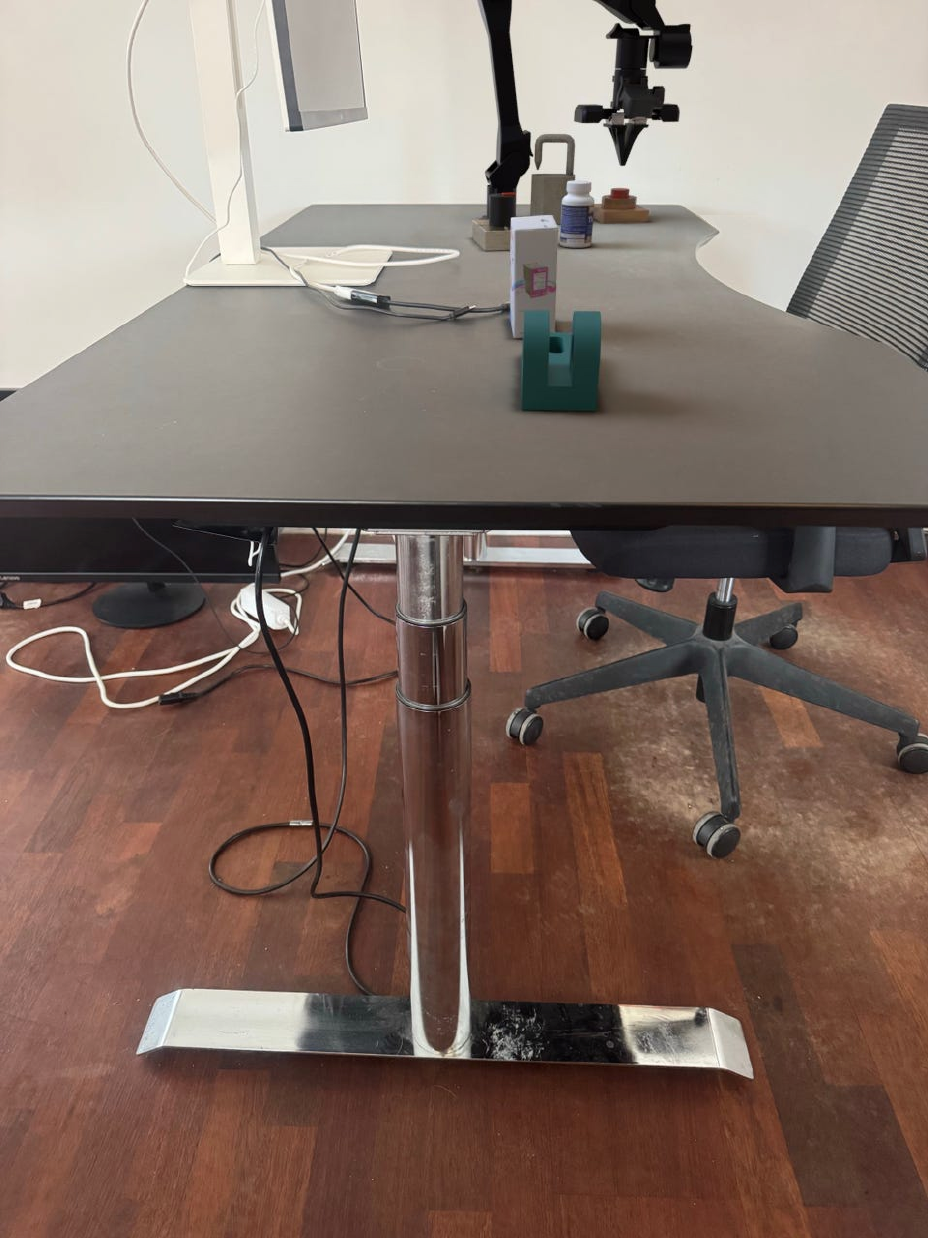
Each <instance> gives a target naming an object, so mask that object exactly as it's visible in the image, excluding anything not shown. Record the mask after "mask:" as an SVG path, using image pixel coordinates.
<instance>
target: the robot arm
mask: <svg viewBox="0 0 928 1238" xmlns="http://www.w3.org/2000/svg"><path fill="white" fill-rule="evenodd" d="M476 1H477V5H478V8H479V13H480V16H481V19H482V22H483V25H484V28H485V31H486V34H487V39H488V40H487V41H488V47H489V56H490V57H489V58H490V66H491V73H492V82H493V89H494V91H493V92H494V98H495V99H494V100H495V107H496V108H495V109H496V116H497V117H496V118H497V133H496V144H495V145H496V147H495V148H496V149H495V160H494V161H493V162H492V163H491V164H490V165H489V166H488V167H487V168H486V170H485V171H484V176H485V179H486V182H487V183H488V184H487V185H486V215H481V216H482V217H481V218H482V220H489V195H491V194H501V193H515V217H518V216H517V193H518V185H519V183H520V179H521V178H522V177H523V176H524V175H526V173H527V172H528V171H529V169H530V166H531V158H533V157H535V154H534V153H533V152H532V146H531V145H532V144H531V143H532V132H531V131H529V130H527V129H524V130H523V128H522V124H521V122H520V115H519V106H518V105H519V104H518V96H517V88H516V86H517V85H516V77H515V67H514V59H513V48H512V39H511V21H512V11H513V0H476ZM592 1H593V2H596V3H597V4H599V5H600V6H602V7H603V8H604V9H605V10H606V11H607V12H609V13H610V14H611V15H613V16H614V17H615V18H617V19H618V20H620V21H621V22H622V23H624V24H628V25H635V26H636V27H623V26H622V25H621V23H620V22H616V23H614V25H613V27H612V28H611V30H610V31H608V33H606V35H605V39H607V40H616V48H615V61H614V72H613V73H614V74H613V75H612V76H611V77H612V79H611V83H613V85H612V87H613V88H612V100H611V101H610V104H609V107H607V108H605V107H604V105H602V104H595V103H594V104H593V103H592V104H591V103H590V104H577V106H576V107H575V109H574V117H573V122H574V123H580V124H600V123H601V122H602V121H603V120H605V122H603V123H602V127H604V128H607V129H608V132H609V134H610V137H611V139H612V142H613V145H614V150H615V154H616V156H617V161H618V165H619V166H620V167H625V166H627V162H628V161H629V158H630V155H631V152H632V150H633V147H634V145H635V143H636V140H637V139H638V137H639V135H640V134H641V133H642V132H643V130H644V129H648V128H649V127H650V124H648V123H647V122H648V119H651V120H652V121H661V122H662V123H678V122H680V114H681V110H680V107H679V105H678V104H676V103H668V102H667V103H665V100H666V99H665V98H666V88H665V86H663V85H654V86H652V88H649V76H648V75H647V67H648V62H649V63H653V68H654V69H655V70H663V69H664V70H686V69H687V68H689V66H690V63H691V58H692V55H693V48H694V47H693V45H692V44H693V39H692V32H691V27H692V25H691V23H680V24H665V22H664V20H663V17H662V16H661V13H660V12H659V9H658V7H657V0H592ZM640 30H641V31H642V32H643V31H644V32H645V31H647V32H651V31H652V34H641V33H640ZM648 60H649V61H648ZM621 110H623V111H621ZM625 120H628V121H627V122H625Z"/></svg>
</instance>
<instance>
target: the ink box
mask: <svg viewBox="0 0 928 1238" xmlns="http://www.w3.org/2000/svg"><path fill="white" fill-rule="evenodd" d="M558 243H559V225H558V224H556V222H555V220H554V218H553V215H541V216H530V215H527V216H517V217H513V218H511V242H510V250H509V251H510V252H509V255H510V257H509V258H510V259H509V264H510V265H509V269H510V271H509V275H510V276H509V277H510V278H509V296H510V297H509V315H510V316H509V320H510V321H509V322H510V325H511V331H512V336H513V339H523V330H524V310H534V311H550V332H556V311H557V310H556V307H557V277H558V276H557V275H558V245H559V244H558Z"/></svg>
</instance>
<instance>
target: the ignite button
mask: <svg viewBox="0 0 928 1238" xmlns="http://www.w3.org/2000/svg"><path fill="white" fill-rule="evenodd" d="M630 191H631V190H630V188H627V187H613V188H612V187H611V188H610V194H609V195H610V198H629V195H630Z"/></svg>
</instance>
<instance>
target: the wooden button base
mask: <svg viewBox="0 0 928 1238" xmlns="http://www.w3.org/2000/svg"><path fill="white" fill-rule="evenodd" d="M637 198H638V196H635V195H631V194H629V198H610V194H605V195H603V196H601V203H594V215H593V220H595V221H597V222H599V223H601V224H606V225H607V224H633V223H634V224H636V223H649V217H650V210H649V209H647V208H645V207H643V206H640V205H638V204H637V203H638V201H637V200H638V199H637Z"/></svg>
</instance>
